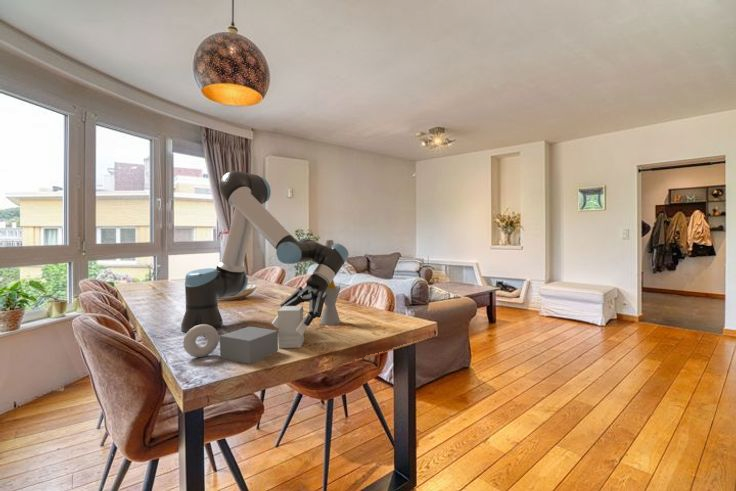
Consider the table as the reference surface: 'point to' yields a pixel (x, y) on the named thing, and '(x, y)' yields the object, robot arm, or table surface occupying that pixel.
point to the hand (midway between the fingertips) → (286, 329)
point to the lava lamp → (330, 301)
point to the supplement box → (290, 326)
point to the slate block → (248, 344)
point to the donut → (194, 333)
